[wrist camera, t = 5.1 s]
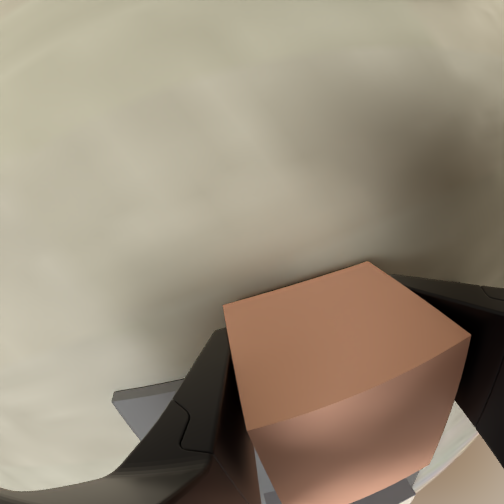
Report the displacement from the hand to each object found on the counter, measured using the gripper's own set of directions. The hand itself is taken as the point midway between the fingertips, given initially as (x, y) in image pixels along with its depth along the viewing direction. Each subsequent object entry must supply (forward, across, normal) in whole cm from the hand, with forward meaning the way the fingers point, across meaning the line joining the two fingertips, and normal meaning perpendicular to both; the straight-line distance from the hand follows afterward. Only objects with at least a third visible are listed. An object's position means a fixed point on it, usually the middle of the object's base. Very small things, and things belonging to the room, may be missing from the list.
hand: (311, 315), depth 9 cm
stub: (+1, 0, +2) cm, 2 cm away
